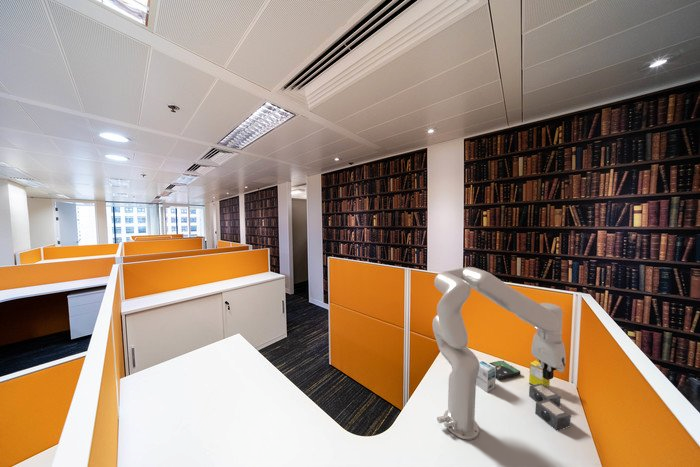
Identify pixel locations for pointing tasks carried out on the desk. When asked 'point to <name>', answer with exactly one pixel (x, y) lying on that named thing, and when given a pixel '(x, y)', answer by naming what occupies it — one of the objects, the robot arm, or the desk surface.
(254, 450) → the desk surface
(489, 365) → the light bulb box
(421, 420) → the desk surface
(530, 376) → the supplement box
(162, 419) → the desk surface
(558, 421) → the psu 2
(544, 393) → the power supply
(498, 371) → the disk drive
